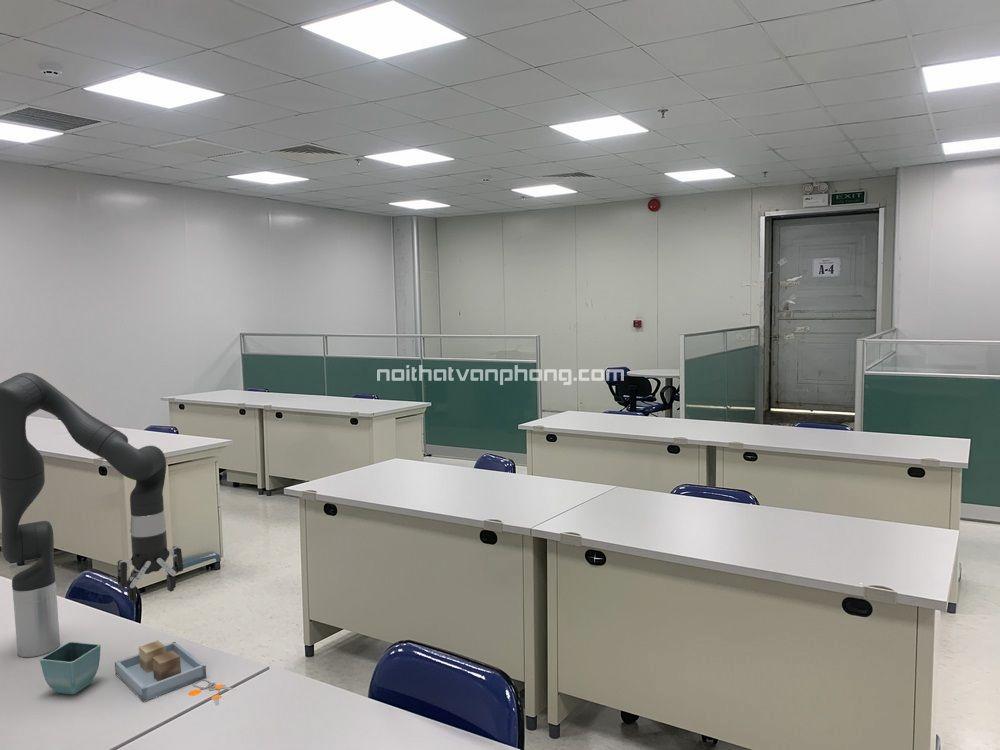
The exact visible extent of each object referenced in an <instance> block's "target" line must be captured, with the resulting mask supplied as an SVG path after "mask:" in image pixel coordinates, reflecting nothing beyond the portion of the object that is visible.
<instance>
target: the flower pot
mask: <svg viewBox="0 0 1000 750" xmlns="http://www.w3.org/2000/svg"><path fill="white" fill-rule="evenodd" d="M101 648H102V647H101V644H98V643H89V642H80V641H79V642H78V641H68V642H66V643H64V644H63V645H61V646H59V647H58V648H56V649H55V650H53V651H51V652H49V653H47V654H46V655H44V656H43V657H41V658H40V659H39V661H40V666H41V667H40V668H41V670H42V673H43V678H44V680H45V682H46V684H47V685H48V687H50V689H51V690H52V691H54V692H55V693H56V694H64V695H76V694H78V693H79V692H80V691H82V690H83V689H85V688H86V687H87V686H90V685H91V684H92V682H93V681H94V679H95V677H96V676H97V673H98V670H99V667H100V659H101Z"/></svg>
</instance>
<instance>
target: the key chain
mask: <svg viewBox="0 0 1000 750" xmlns="http://www.w3.org/2000/svg"><path fill="white" fill-rule="evenodd" d="M203 681H204V682H207V683H208V684H207V685H206V686H205V687H204V686H198V685H197V684H199V683H201V682H203ZM192 687H195V688H199V690H198V689H193V690H191V691H189V692H188V696H189V697H191V696H198V695H200V694H201V693H202V690H205V689H206V690H209V691H216V690H217V691H218V693H217V694H216V695H213V696H212V697H211V700H212V701H213V703H214V704H215V705H216V706H215V705H214V706H215V707H217V706H220V699H221V698H222V695H221V694H220V692H221V691H220V690H230V691H233V690H234V688H233V687H230V686H227V685H225V684H223V683H222V684H217V683H216V682H212V681H210V680H208V679H206V678H204V679H201V680H199V681H196V682H194V683H192Z"/></svg>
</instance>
